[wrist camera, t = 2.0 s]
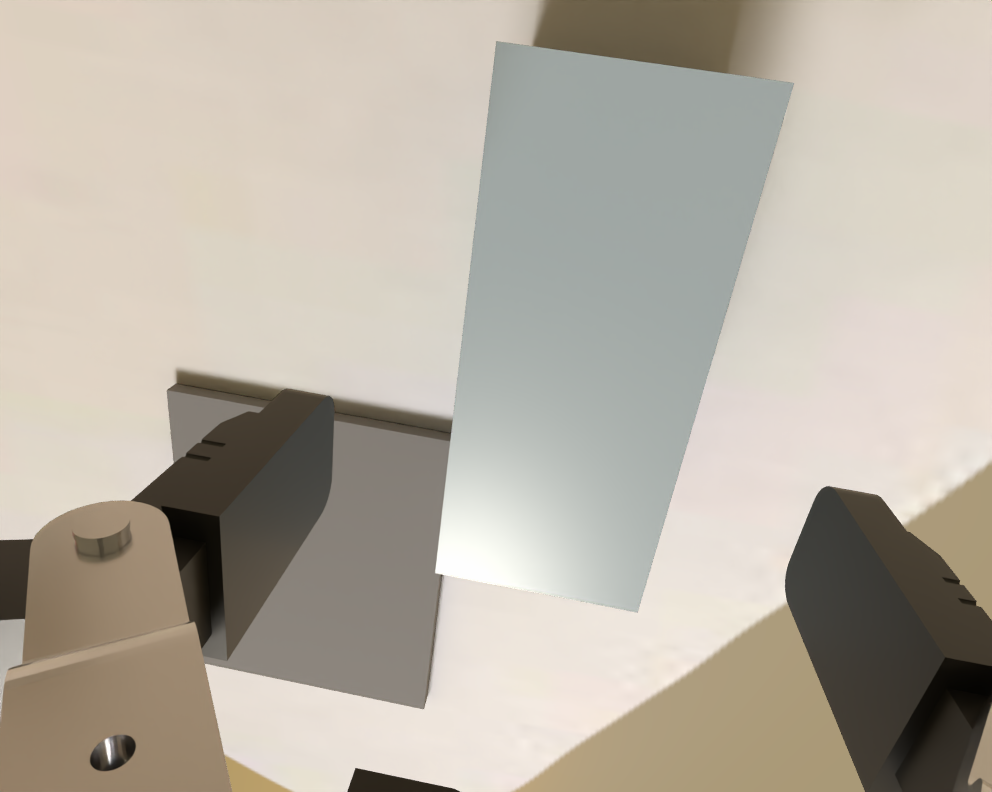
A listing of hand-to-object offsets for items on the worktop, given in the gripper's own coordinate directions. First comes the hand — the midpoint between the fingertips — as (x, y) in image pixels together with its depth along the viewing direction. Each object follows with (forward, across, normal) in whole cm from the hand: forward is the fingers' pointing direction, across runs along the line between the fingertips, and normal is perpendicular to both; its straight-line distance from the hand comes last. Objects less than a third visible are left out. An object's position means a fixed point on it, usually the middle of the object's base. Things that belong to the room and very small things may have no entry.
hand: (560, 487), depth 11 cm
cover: (+12, 0, 0) cm, 12 cm away
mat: (+12, +9, +13) cm, 19 cm away
